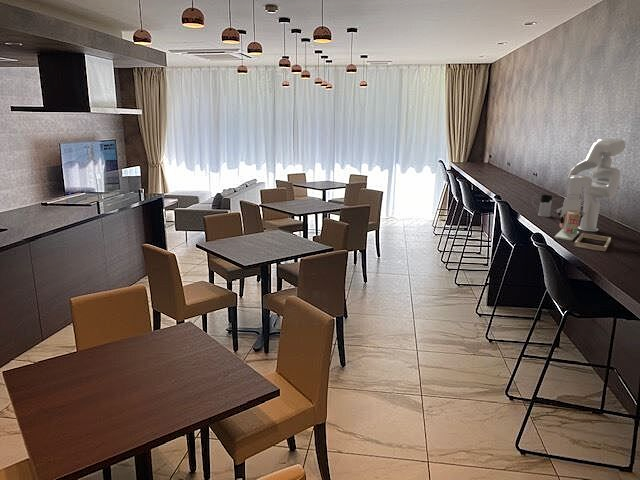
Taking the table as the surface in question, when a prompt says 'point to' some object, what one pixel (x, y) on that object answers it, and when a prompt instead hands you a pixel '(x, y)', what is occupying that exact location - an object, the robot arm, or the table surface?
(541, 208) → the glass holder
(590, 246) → the beige open rectangular frame
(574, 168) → the robot arm
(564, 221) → the stack of blocks
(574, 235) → the sage mat
